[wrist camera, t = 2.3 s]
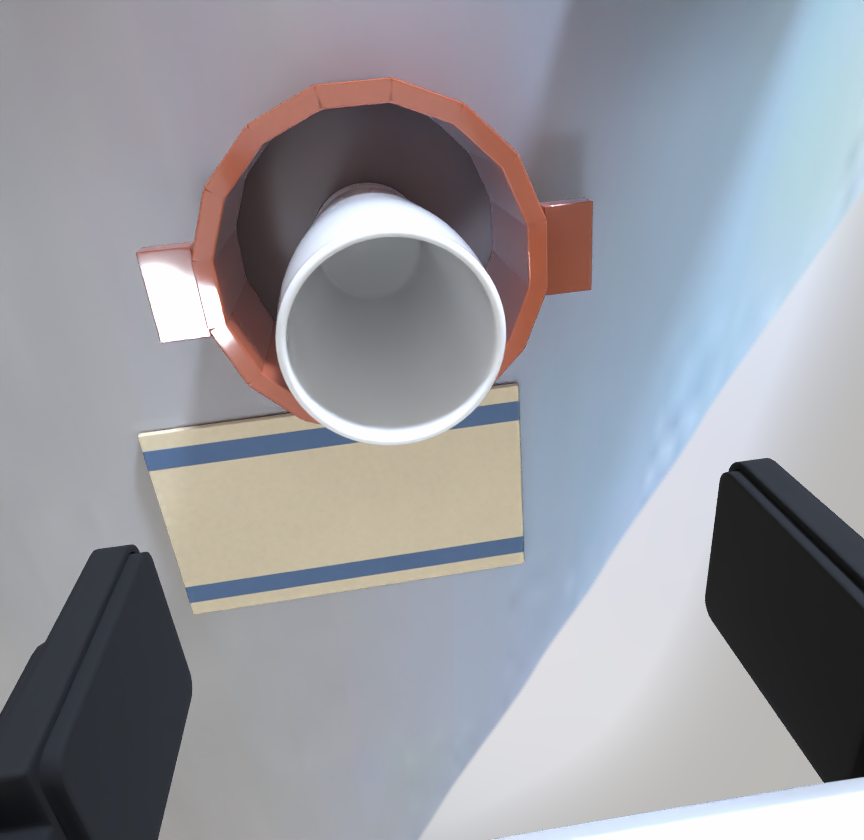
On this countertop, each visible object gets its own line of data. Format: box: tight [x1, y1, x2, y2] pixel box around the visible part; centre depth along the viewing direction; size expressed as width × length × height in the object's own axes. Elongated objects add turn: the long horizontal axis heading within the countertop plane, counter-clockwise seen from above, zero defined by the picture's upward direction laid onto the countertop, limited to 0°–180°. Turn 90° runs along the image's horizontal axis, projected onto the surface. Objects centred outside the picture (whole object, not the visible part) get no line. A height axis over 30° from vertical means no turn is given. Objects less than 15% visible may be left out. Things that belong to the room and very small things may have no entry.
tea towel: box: [138, 383, 524, 615], centre depth 39 cm, size 20×12×1 cm, turn 95°
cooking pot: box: [136, 77, 593, 425], centre depth 30 cm, size 18×14×7 cm
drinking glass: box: [275, 183, 506, 446], centre depth 26 cm, size 7×7×15 cm
